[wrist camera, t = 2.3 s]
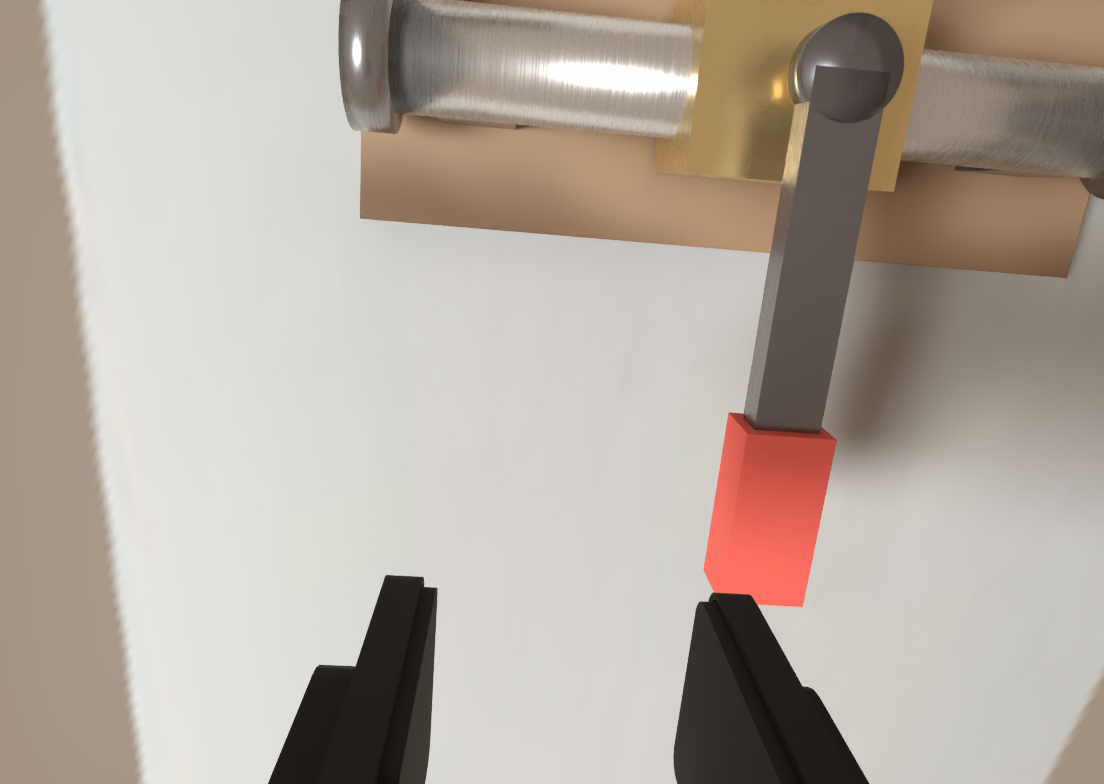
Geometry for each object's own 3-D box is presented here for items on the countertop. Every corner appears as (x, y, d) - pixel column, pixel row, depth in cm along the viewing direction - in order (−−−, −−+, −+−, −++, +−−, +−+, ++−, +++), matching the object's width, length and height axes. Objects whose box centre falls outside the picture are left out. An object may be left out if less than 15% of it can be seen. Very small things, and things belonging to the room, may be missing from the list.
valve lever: (791, 19, 18) (819, 3, 17) (885, 29, 19) (923, 14, 17) (703, 569, 23) (719, 602, 21) (781, 573, 23) (802, 606, 21)
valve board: (373, -93, 25) (302, -224, 17) (1114, -10, 27) (1383, -92, 18) (368, 215, 28) (304, 234, 19) (1039, 272, 29) (1244, 312, 21)
